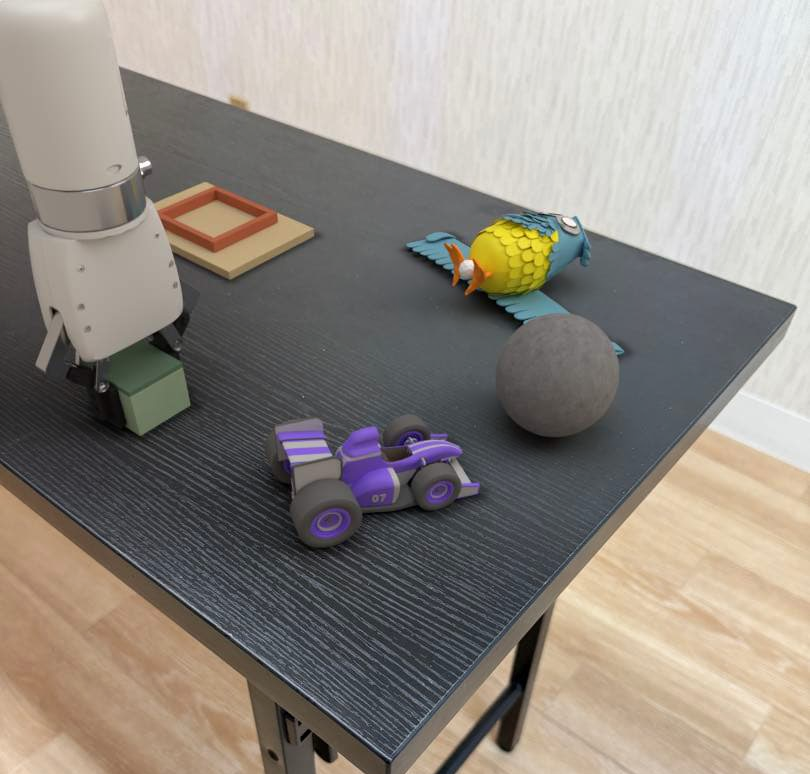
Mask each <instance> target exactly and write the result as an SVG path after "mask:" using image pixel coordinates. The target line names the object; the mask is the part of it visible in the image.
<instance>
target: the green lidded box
mask: <svg viewBox="0 0 810 774" xmlns="http://www.w3.org/2000/svg"><path fill="white" fill-rule="evenodd" d="M92 370H93V363H92ZM109 383H110V384H111V385H113V386H114V387H116V388H117V390H118V393H119V397H120V400H121V404H122V407H123V411H124V415H125V418H126V422H127V424H126V426H125V427H124V428H127V429H128V430H130V431H132V432H133V433H135V434H136V435H138V436H140V437H141V436H143V435H145V434H147V433H148V432H149V431H151V430H153V429H155V428H157V427H158V426H159V425H161V424H163V423H164V422H166V421H167V420H169V419H171V418H173V417H174V416H176V415H177V414H179V413H181V412H182V411H184V410H186V409H187V408H189V407H190V406H191V400H190V397H189V396H190V395H189V390H188V386H187V381H186V375H185V371H184V365H183V362H182V360H180V361H179V360H177V359H175V358H174V357H172V356H170V355H168V354H167V353H165V352H163V351H161V350H160V349H158V348H156V347H154V346H153V345H151V344H149V343H148V341H146V340H144V339H141V340H139V341H138V342H136V343H134V344H132V345H130V346H128V347H126V348H124V349H122V350H120V351H118V352H116V353H115V354H113V355H111V363H110V382H109Z"/></svg>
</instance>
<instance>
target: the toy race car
mask: <svg viewBox="0 0 810 774" xmlns="http://www.w3.org/2000/svg"><path fill="white" fill-rule="evenodd" d="M323 421H324V420H323V419H322V418H321V417H318V416H313V417H307V418H295V419H291V420H287V421H285V422H282V423H280V424H274V425H273V430H272V431H271V432H270V433H269V434H268V436H267V437H266V440H265V443H264V455H265V457H266V459H267V462H268V464H269V468H270V469H271V472H272V473H273V475H274V477H275V478H276V479H277V480H279V481H280V482H282V483H284V484H287V485H291V490H292V491H291V492H290V493H291V499H292V500H291V502H290V506H289V515H290V518H291V521H292V523H293V525H294V528H295V530H296V532H297V535H298V537H299V539H300V540H301V541H302V542H303V543H304V544H305V545H307V546H309V547H312V548H316V549H325V548H326V549H327V548H331V547H335V546H337V545H340V544H342V543H344V542H345V541H347V540H349V539H350V538H351V537H352V536H353V535H354V534H355V533H356V532H357V531H358V529H360V526H361V525H362V524H361V523H362V520H363V514H371V513H384V512H385V513H386V512H393V511H399V510H404V509H407V508H411V507H414V506H419V507H420V508H422V509H423V510H425V511H438V510H442V509H444V508H446V507H448V506H450V505H451V504H452V503H453V502H455V501H456V500H459V499H463V498H467V497H472V496H477V495H479V494H480V488H481V485H480V483H479V482H472V481H471V480H470V478H469V477H468V474H466V472H465V471H464V469H463V466H461V464H460V463H459V461H458V459H457V458H458V457H462V456H463V454H464V451H463V450H462V448H461V446H460V445H458V444H455V443H452V442H451V441H448V440H449V435H448V434H447V433H431V432H430V430H429V428H428V426H427V424H426V423H425V422H424V420H423V418H421V417H420V416H418V415H416V414H414V413H413V414H412V413H411V414H410V413H408V414H403V415H400V416H397V417H395V418H394V419H393V420H391V421H390V422H389V423H387V425H386V427H385V428H384V430H383V433H382V442H383V444H384V446H385V447H382V446H381V444H380V443H379V440H380V439H379V438H380V434H379V430H378V428H377V426H375V425H373V426H368V427H364V428H359V429H356V430H354V431H352V432H351V433H350V434H349V436H348V438H347V439H346V440H344V442H342V444H341V445H340V446H338V448H337V449H336V451H335V454H334V455H333V453H332V448H331V445H330V444H329V442H328V440H327V438H326V435H325V431H324V430H325V429H324V422H323ZM439 461H440V462H439ZM413 476H414V477H413ZM412 477H413V478H412ZM411 479H412V481H411V482H410V483H411V484H410V485H409V484H408V482H409V481H410V480H411Z"/></svg>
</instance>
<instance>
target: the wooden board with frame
mask: <svg viewBox="0 0 810 774" xmlns="http://www.w3.org/2000/svg"><path fill="white" fill-rule="evenodd" d="M153 204H154V206H155V209H156V211H157V213H158V215H159V217H160V220H161V222H162V225H163V227H164V230H165V232H166V235H167V238H168V241H169V244H170V247H171V250H172V253H174V254H176V255H178V256H179V257H183V258H184V259H186V260H188V261H191V262H192V263H194V264H196V265H198V266H200V267H202V268H205V269H206V270H209V271H211V272H213V273H215V274H216V275H218V276H221V277H222V278H224V279H227V280H229V281H230V280H233V279H234V278H237V277H239V276H241V275H242V274H244V273H246V272H249V271H250V270H252V269H254V268H256V267H258V266H260V265H262V264H264V263H265V262H267V261H270V260H272V259H273V258H275V257H278V256H279V255H281V254H283V253H285V252H287V251H288V250H290V249H293V248H294V247H296V246H298V245H301V244H303V243H304V242H306V241H308V240H311V239H313V238H314V237H315V229H314V227H311V226H309V225H307V224H304V223H302V222H301V221H300V222H299V221H298V220H295V219H293V218H291V217H288V216H286V215H283V214H281V213H279V212H277V211H276V210H273V209H271V208H268V207H266V206H264V205H261V204H260V203H257V202H254V201H252V200H250V199H248V198H245V197H243V196H240V195H238V194H236V193H234V192H231V191H229V190H227V189H224V188H222V187H220V186H217V185H213V184H211V183H209V182H207V181H203V182H201V183H199V184H197V185H195V186H191V187H190V188H187V189H185V190H182V191H180V192H177V193H175V194H173V195H170V196H167V197H166V198H163V199H161V200H159V201H156V202H153Z"/></svg>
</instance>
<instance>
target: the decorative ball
mask: <svg viewBox="0 0 810 774" xmlns="http://www.w3.org/2000/svg"><path fill="white" fill-rule="evenodd" d="M611 342H612V341H611V339H610V338H609V337H608V335H607V334H606V333H605V332H604V330H602V329H601V327H599V326H598V325H597V324H596V323H594V322H592V321H591V320H589V319H587V318H585V317H583V316H580V315H577V314H573V313H570V314H568V313H551V314H546V315H542V316H539V317H537V318H534V319H532V320H530V321H528V322H527V323H525V324H522V325H521V326H520V327H518V328H517V329H516V330H515V331H514V332H513V333H512V334H511V335H510V336H509V337H508V339H507V340H506V342H505V343H504V345H503V347H502V348H501V351H500V353H499V356H498V357H497V361H496V362H497V363H496V368H495V377H494V379H495V388H496V389H495V390H496V393H497V396H498V400H499V402H500V404H501V406H502V408H503V409H504V411H505V412H506V414H507V415H508V417H509V418H510V419H511V420H512V421H513V422H514V423H516V425H518V426H520V427H521V428H522V429H524V430H525V431H528V432H529V433H532V434H534V435H537V436H540V437H547V438H563V437H570V436H573V435H576V434H578V433H581V432H583V431H584V430H587V429H588V428H590V427H592V426H593V425H594V424H595V423H597V422H598V421H599V420H600V419H602V417H603V416H604V415H605V414H606V412H607V411H608V409H609V408H610V407H611V405H612V404H613V401H614V399H615V397H616V394H617V392H618V391H617V390H618V388H619V383H620V382H619V381H620V364H619V363H620V362H619V358H618V355H616V351H615V349H614V347H613V345H612V343H611Z"/></svg>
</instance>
